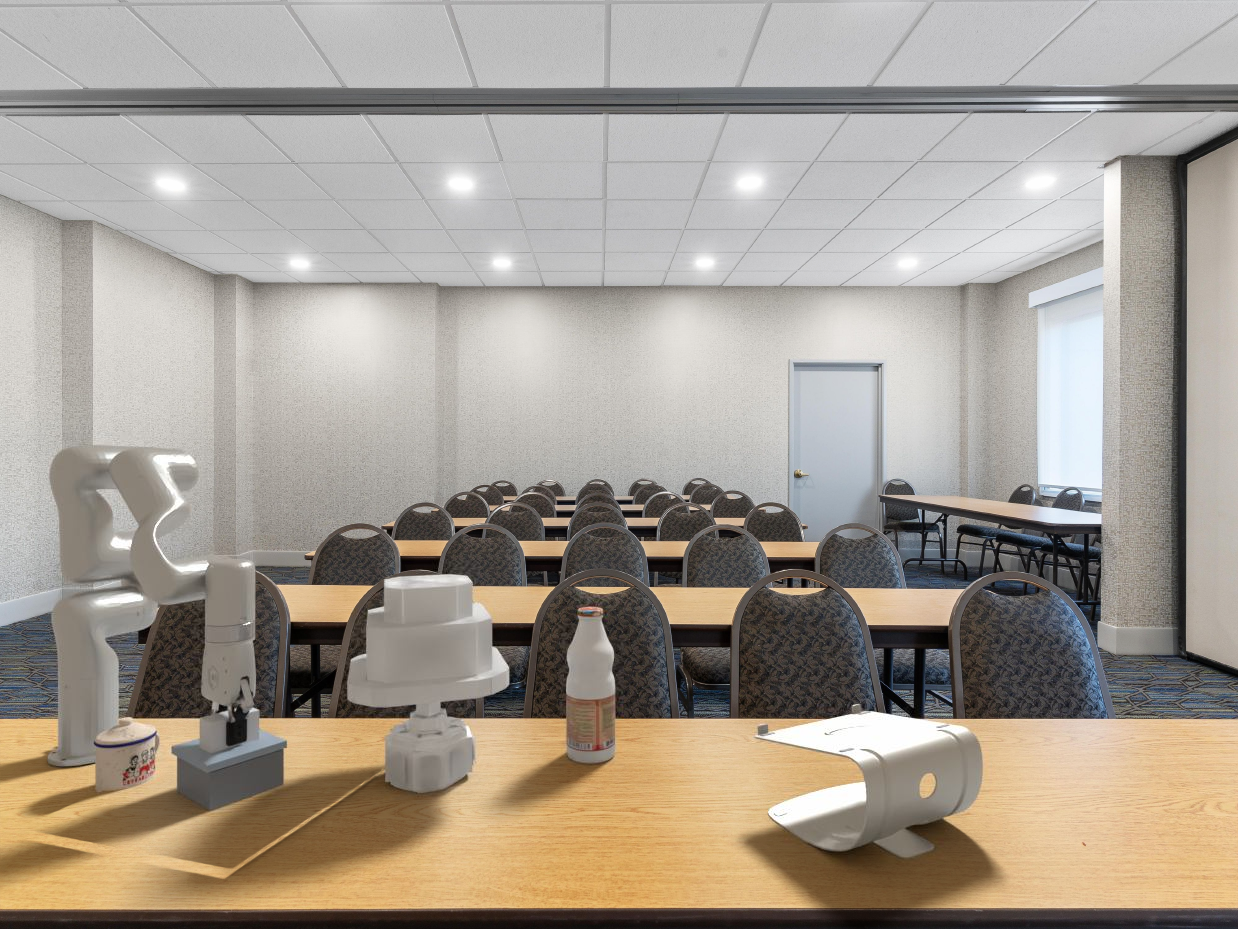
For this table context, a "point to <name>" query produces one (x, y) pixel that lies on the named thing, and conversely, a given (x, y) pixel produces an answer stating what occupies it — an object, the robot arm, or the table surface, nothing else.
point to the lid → (212, 743)
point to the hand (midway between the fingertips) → (229, 739)
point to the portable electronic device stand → (881, 780)
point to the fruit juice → (590, 691)
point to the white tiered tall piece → (427, 675)
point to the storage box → (230, 780)
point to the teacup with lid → (125, 755)
